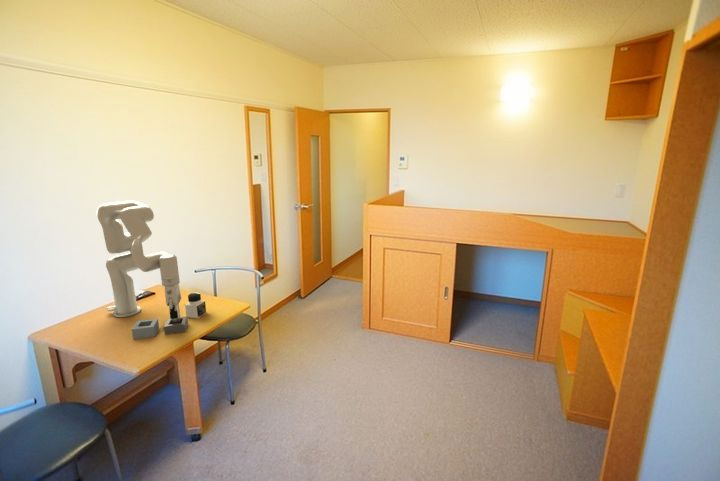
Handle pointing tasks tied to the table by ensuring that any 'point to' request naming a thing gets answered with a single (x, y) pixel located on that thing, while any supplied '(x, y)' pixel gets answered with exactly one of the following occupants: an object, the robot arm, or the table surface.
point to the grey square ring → (176, 326)
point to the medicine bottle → (195, 306)
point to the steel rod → (177, 320)
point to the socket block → (145, 328)
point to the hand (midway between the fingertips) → (175, 315)
